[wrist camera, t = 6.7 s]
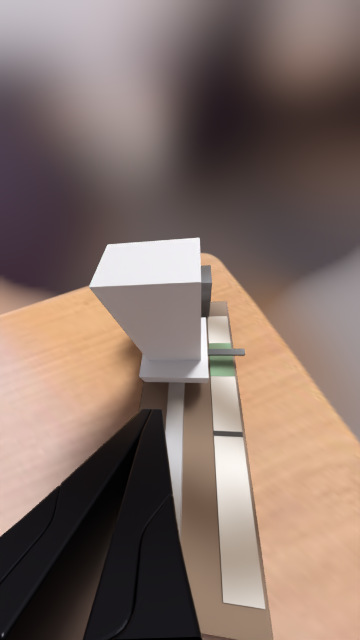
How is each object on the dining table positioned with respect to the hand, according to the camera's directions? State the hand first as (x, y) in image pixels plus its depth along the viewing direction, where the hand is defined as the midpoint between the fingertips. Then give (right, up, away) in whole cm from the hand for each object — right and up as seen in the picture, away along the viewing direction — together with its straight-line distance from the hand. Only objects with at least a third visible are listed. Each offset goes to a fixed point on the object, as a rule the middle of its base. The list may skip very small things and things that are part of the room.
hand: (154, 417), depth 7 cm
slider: (+2, +1, +7) cm, 8 cm away
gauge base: (+2, -3, +7) cm, 8 cm away
